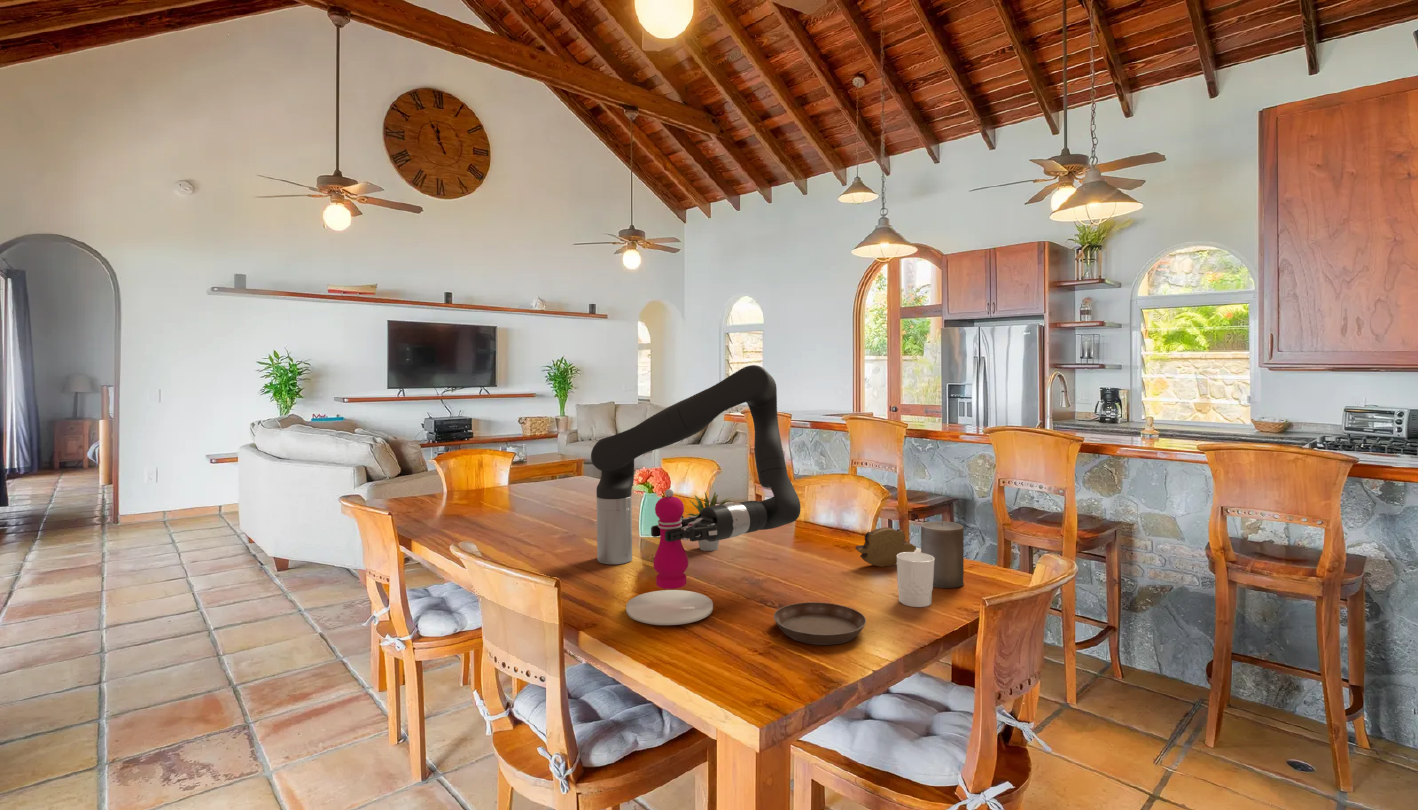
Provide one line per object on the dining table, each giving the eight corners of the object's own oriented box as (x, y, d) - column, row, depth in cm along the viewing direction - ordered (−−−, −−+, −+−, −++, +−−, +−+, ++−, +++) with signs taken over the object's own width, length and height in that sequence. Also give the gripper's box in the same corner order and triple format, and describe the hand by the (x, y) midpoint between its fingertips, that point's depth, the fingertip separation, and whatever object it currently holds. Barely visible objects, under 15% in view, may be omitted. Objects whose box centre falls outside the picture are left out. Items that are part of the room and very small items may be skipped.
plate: (612, 607, 143) (612, 599, 143) (685, 592, 152) (685, 584, 152) (650, 636, 127) (650, 626, 127) (729, 617, 137) (729, 608, 137)
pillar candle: (970, 581, 159) (970, 519, 158) (953, 591, 152) (953, 526, 151) (931, 574, 166) (931, 513, 165) (913, 583, 159) (913, 520, 158)
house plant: (735, 556, 181) (735, 497, 180) (684, 556, 182) (684, 497, 181) (734, 543, 196) (734, 487, 195) (687, 543, 196) (686, 487, 195)
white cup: (914, 611, 140) (915, 563, 140) (888, 599, 147) (888, 554, 147) (942, 604, 144) (942, 558, 143) (915, 593, 151) (915, 550, 150)
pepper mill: (648, 587, 138) (645, 491, 136) (663, 577, 144) (660, 485, 143) (680, 591, 135) (677, 493, 134) (694, 580, 142) (692, 486, 140)
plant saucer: (771, 614, 139) (771, 600, 139) (856, 615, 138) (856, 601, 138) (776, 650, 121) (776, 634, 121) (875, 651, 121) (875, 634, 121)
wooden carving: (906, 560, 178) (907, 522, 177) (917, 564, 173) (917, 526, 173) (852, 566, 172) (852, 527, 172) (861, 571, 168) (861, 531, 168)
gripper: (704, 499, 153) (640, 510, 143) (744, 509, 142) (677, 522, 131) (705, 532, 153) (641, 545, 143) (745, 544, 142) (678, 559, 132)
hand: (659, 534), depth 137 cm, fingers closed on pepper mill, 4 cm apart
